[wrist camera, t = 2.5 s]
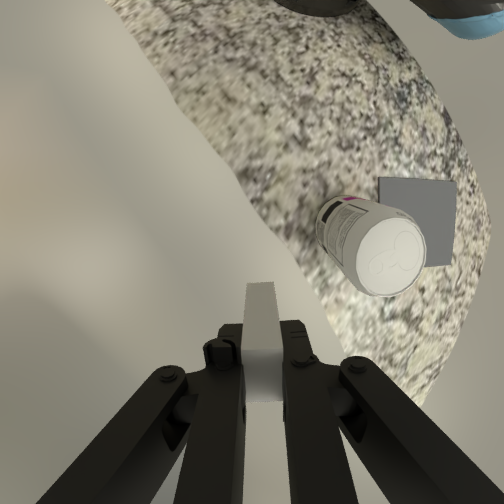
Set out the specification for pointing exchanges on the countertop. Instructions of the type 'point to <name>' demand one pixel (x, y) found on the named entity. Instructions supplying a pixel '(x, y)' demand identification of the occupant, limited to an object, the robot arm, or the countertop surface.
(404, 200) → the mat
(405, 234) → the supplement can
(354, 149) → the countertop surface
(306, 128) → the countertop surface
